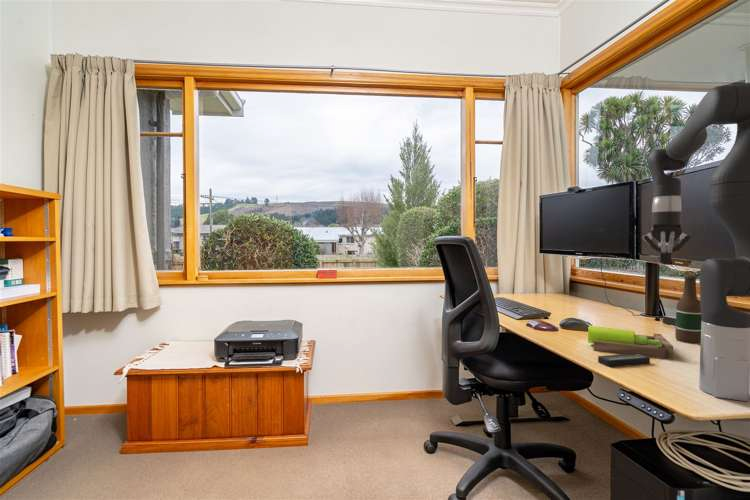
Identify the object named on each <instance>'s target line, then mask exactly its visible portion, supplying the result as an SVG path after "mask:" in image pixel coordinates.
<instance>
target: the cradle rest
mask: <svg viewBox="0 0 750 500" xmlns="http://www.w3.org/2000/svg"><path fill="white" fill-rule="evenodd" d="M639 335H640V336H647V338H648V339H651V340H660V347H657V345H649V344H648V345H637V344H628V343H618V342H608V341H599V340H593V343H592V345H593V346H592V350H593V351H595V352H596V351H597V352H598V351H599V352H606V353H615V354H636V353H639V354H642V355H644V356H647V357H650V358H659V359H667V360H674V346H673V345H672V344H671V343H670V341H669V340H667V339H666V338H665V336H663V335H662V333H661V334H660V333H653V335H644V334H642V335H641V334H639Z"/></svg>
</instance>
